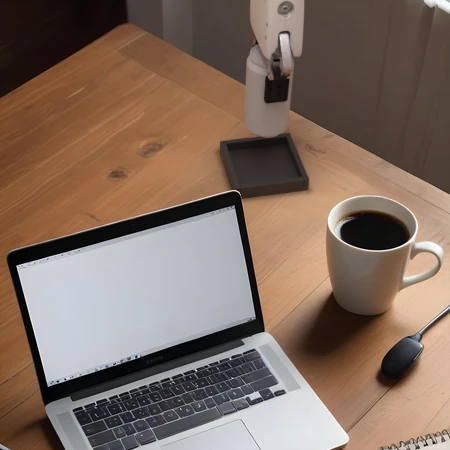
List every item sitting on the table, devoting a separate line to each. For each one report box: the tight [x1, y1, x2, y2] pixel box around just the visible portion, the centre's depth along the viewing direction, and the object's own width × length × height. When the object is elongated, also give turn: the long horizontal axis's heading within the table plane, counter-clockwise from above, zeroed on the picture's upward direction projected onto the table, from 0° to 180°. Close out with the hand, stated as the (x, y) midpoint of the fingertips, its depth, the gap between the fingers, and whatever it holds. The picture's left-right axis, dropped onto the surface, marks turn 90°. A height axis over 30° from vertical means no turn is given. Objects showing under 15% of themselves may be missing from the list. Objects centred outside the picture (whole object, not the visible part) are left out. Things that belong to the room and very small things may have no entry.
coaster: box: [219, 132, 310, 199], centre depth 126 cm, size 11×11×2 cm
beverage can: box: [243, 44, 295, 138], centre depth 116 cm, size 6×6×12 cm
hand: (269, 84), depth 115 cm, fingers closed on beverage can, 6 cm apart
